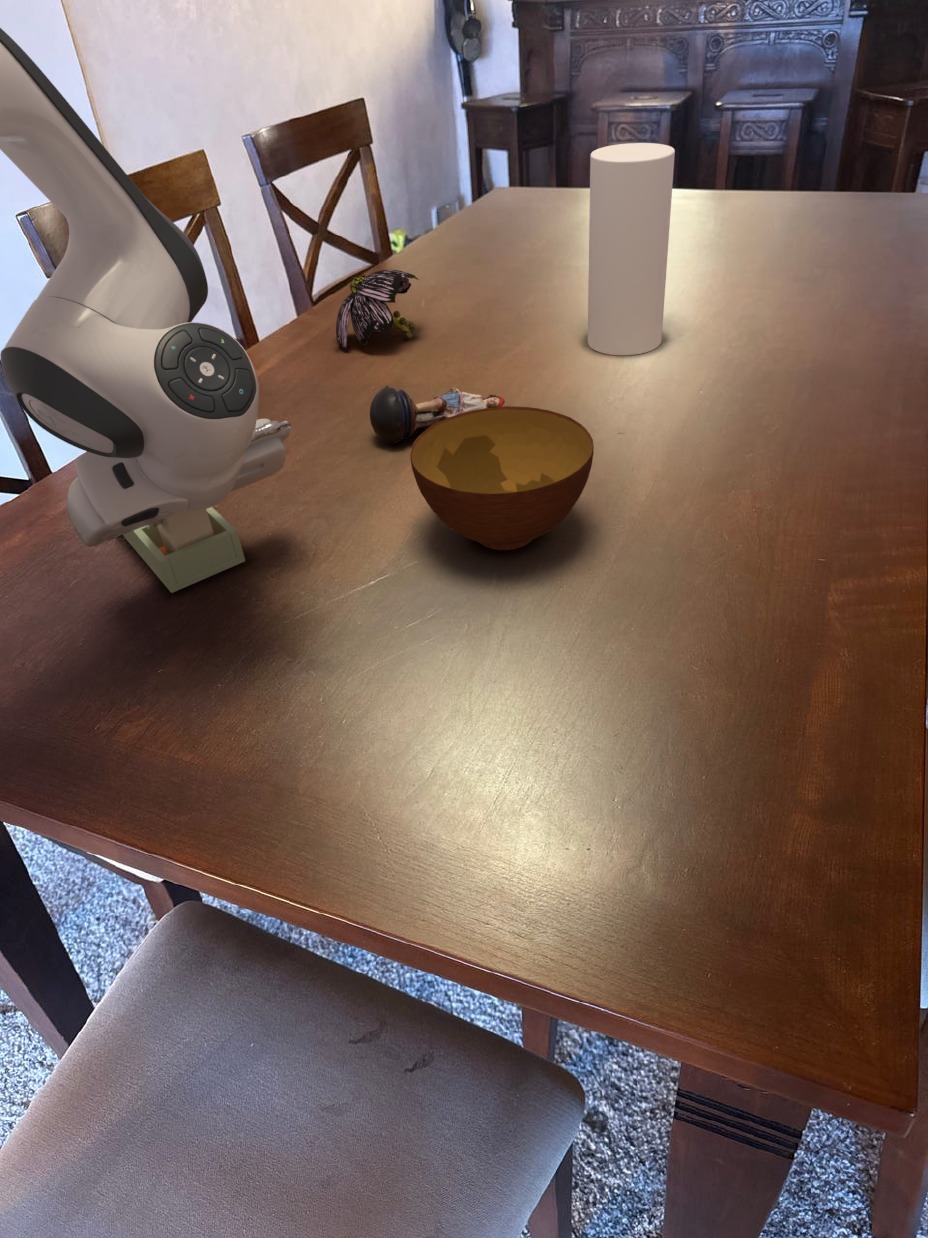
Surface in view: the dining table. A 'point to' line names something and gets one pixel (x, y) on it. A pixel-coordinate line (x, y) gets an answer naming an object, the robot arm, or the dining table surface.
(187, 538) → the beige rectangular block
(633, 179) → the tall pillar cylinder
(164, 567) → the holder
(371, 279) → the decorative flower
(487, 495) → the bowl
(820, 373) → the dining table surface
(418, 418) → the figurine
